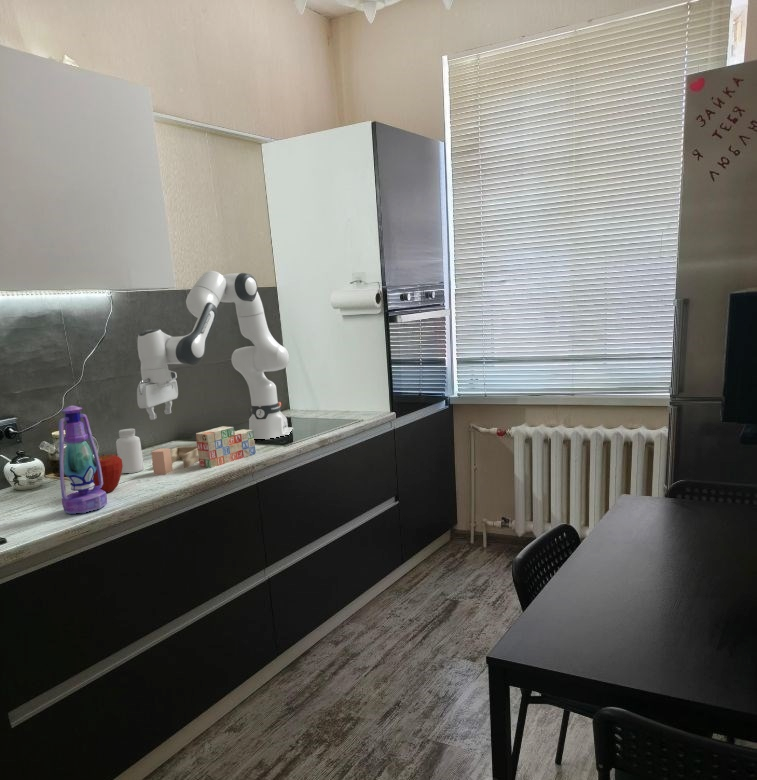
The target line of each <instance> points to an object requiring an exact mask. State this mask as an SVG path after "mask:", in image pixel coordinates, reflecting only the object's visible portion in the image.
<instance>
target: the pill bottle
mask: <svg viewBox="0 0 757 780" xmlns="http://www.w3.org/2000/svg"><path fill="white" fill-rule="evenodd" d="M118 437H119V438H117V439H116V441H115V445H116V446H115V447H116V452H117V456H118V457H120V458H121V459H122V464H123V467H122V472H121V474H122V473H129V474H134V473H139V472H142V471H143V470H144V467H145V465H144V460H143V459H144V458H143V452H142V445H141V439H140V437H139V436H137V435H136V429H135V428H125V429H120V430H118Z"/></svg>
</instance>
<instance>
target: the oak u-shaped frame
mask: <svg viewBox="0 0 757 780" xmlns="http://www.w3.org/2000/svg"><path fill="white" fill-rule="evenodd" d="M170 452H171V460H172V464H173V463H175V462H177V461H178V460H179V461H180V460H182V462H183V468H189V467H191V466H192V465H194V464H197V463H199V455H198V449H197V445H196V446H194V445H193V446H176V447H173V448H170Z"/></svg>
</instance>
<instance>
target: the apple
mask: <svg viewBox="0 0 757 780" xmlns="http://www.w3.org/2000/svg"><path fill="white" fill-rule="evenodd" d="M98 457H99V461H100V465H101V470H102V477H103V485H102V487H101V488H99V489H101V490H103V491H105V492H106V493H110V491H111V492H113V491H115V489H117V487H118V486H119V483H120V479H121V477H122V473H121V472H122V467H123V464H122V459H121V458H120V457H118V454H117V455H116V454H105V455H104V453H103V454H102V456H98ZM94 459H95V457H94ZM95 462H96V461H95ZM93 480H94V482H93V483H94V484H95V486H98V485H99V478H98V471H97V469H96V472H95V474H94V477H93ZM95 486H93V488H94V487H95Z"/></svg>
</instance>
